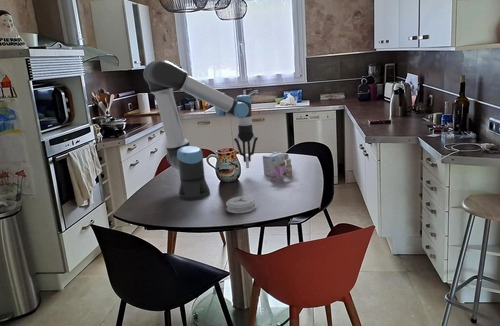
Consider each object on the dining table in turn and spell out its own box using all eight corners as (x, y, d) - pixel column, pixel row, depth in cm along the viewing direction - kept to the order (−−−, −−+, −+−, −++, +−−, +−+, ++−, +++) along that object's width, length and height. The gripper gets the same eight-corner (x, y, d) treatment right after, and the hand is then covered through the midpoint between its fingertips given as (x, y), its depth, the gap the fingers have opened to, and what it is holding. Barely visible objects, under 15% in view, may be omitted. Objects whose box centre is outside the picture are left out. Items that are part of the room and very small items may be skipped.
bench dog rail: (292, 176, 226) (291, 159, 223) (286, 176, 226) (285, 160, 223) (289, 168, 241) (288, 153, 239) (284, 169, 241) (283, 153, 239)
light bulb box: (276, 170, 240) (275, 151, 238) (285, 171, 235) (284, 152, 233) (263, 174, 233) (262, 155, 231) (272, 176, 228) (270, 156, 226)
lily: (295, 180, 221) (288, 163, 223) (293, 178, 210) (286, 160, 212) (273, 189, 222) (267, 172, 224) (270, 186, 211) (264, 169, 213)
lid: (249, 202, 190) (248, 192, 189) (260, 211, 179) (260, 200, 177) (222, 208, 186) (221, 197, 185) (232, 217, 174) (231, 206, 173)
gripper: (257, 122, 230) (259, 165, 236) (233, 124, 230) (235, 166, 236) (257, 124, 223) (259, 168, 228) (232, 126, 223) (235, 169, 229)
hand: (247, 167), depth 232 cm, fingers closed
